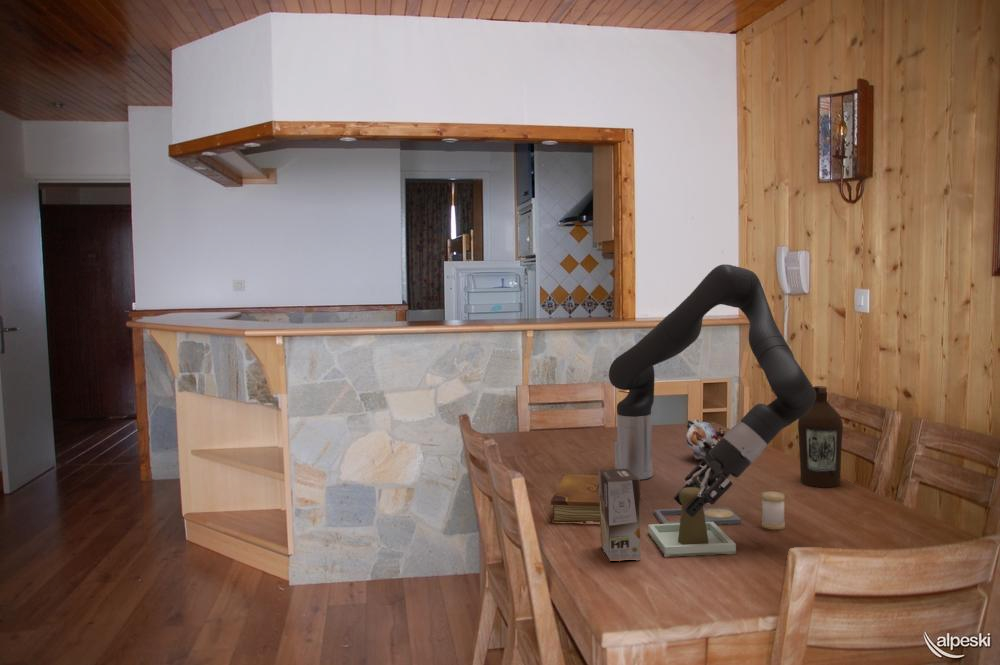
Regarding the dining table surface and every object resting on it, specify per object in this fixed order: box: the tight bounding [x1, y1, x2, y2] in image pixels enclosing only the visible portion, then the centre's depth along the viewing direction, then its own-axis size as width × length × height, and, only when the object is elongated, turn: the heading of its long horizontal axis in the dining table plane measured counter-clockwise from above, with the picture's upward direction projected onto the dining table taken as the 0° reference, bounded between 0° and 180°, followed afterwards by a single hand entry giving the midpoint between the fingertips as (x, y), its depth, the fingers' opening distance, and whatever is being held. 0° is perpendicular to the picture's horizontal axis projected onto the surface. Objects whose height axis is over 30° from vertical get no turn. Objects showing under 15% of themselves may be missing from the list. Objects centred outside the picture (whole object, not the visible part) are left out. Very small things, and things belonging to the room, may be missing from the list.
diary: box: [550, 474, 641, 523], centre depth 183 cm, size 23×19×6 cm
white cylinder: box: [761, 491, 786, 531], centre depth 167 cm, size 5×5×7 cm
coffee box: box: [598, 468, 641, 560], centre depth 153 cm, size 9×6×16 cm
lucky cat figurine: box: [686, 419, 726, 461], centre depth 227 cm, size 15×12×14 cm
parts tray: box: [647, 522, 737, 557], centre depth 158 cm, size 14×14×2 cm
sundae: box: [702, 427, 723, 488], centre depth 199 cm, size 7×7×15 cm
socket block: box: [653, 506, 742, 526], centre depth 173 cm, size 17×10×1 cm, turn 92°
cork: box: [678, 487, 708, 545], centre depth 157 cm, size 6×6×11 cm
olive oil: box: [797, 385, 844, 488], centre depth 198 cm, size 11×11×25 cm
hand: (682, 507), depth 158 cm, fingers open, 7 cm apart
